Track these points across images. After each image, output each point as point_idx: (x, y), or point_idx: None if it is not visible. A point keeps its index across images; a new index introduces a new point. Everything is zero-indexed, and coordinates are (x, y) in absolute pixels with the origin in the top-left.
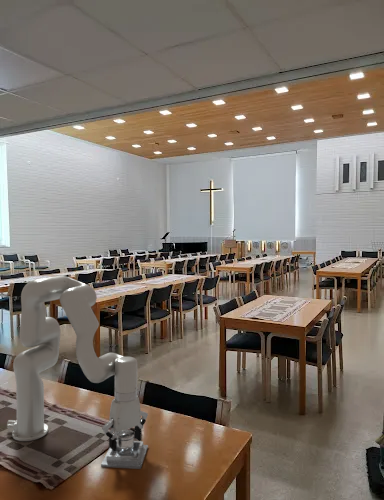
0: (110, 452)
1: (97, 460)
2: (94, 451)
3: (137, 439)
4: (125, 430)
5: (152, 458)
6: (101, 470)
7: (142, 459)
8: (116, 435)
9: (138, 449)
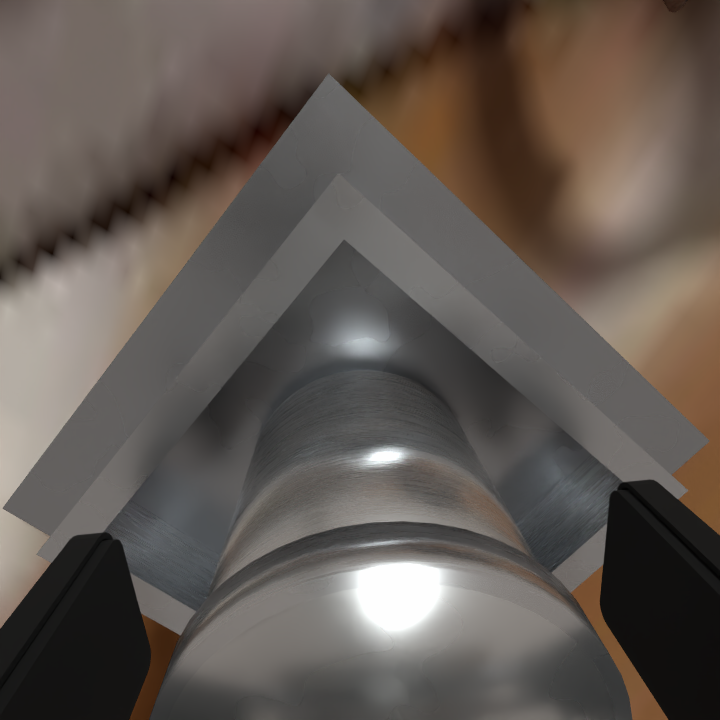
0: (121, 502)
1: (10, 345)
2: (18, 86)
3: (608, 582)
4: (498, 621)
5: None
6: (11, 549)
7: None
8: (160, 690)
9: None
